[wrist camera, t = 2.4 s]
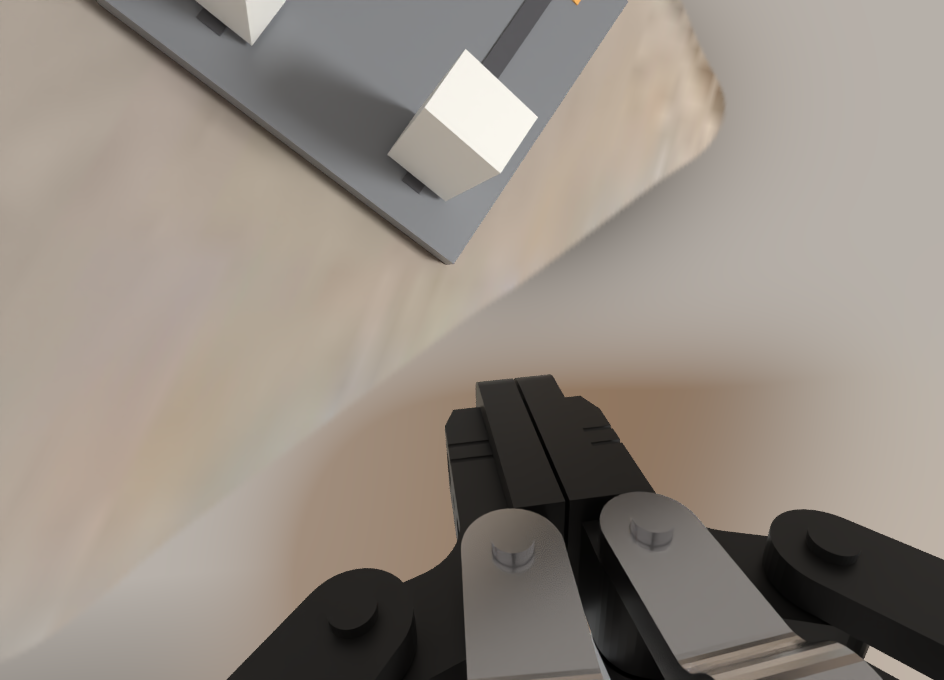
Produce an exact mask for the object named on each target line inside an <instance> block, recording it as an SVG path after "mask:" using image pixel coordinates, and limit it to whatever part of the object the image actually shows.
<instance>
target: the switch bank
mask: <svg viewBox="0 0 944 680" xmlns="http://www.w3.org/2000/svg"><path fill="white" fill-rule="evenodd" d="M96 1H97V2H98V4H100V5H101V6H102V7H104V8H105V9H106V10H108V11H109V12H110V13H112V14H113V15H114V16H116V17H117V18H118V19H120V20H121V21H122V22H124V23H125V24H126V25H128V26H129V27H130V28H132V29H133V30H134V31H136V32H137V33H138V34H140V35H141V36H142V37H144V38H145V39H146V40H148V41H149V42H150V43H152V44H153V45H154V46H156V47H157V48H158V49H160V50H161V51H162V52H164V53H165V54H166V55H168V56H169V57H170V58H172V59H173V60H174V61H176V62H177V63H178V64H179V65H181V66H182V67H183V68H185V69H186V70H187V71H189V72H190V73H191V74H193V75H194V76H195V77H197V78H198V79H199V80H201V81H202V82H203V83H205V84H206V85H207V86H209V87H210V88H211V89H213V90H214V91H215V92H217V93H218V94H219V95H221V96H222V97H223V98H225V99H226V100H227V101H229V102H230V103H231V104H233V105H234V106H235V107H237V108H238V109H239V110H241V111H242V112H243V113H245V114H246V115H247V116H249V117H250V118H251V119H253V120H254V121H255V122H257V123H258V124H259V125H261V126H262V127H263V128H265V129H266V130H267V131H269V132H270V133H271V134H273V135H274V136H275V137H277V138H278V139H279V140H281V141H282V142H283V143H285V144H286V145H287V146H289V147H290V148H291V149H293V150H294V151H295V152H297V153H298V154H299V155H301V156H302V157H303V158H305V159H306V160H307V161H309V162H310V163H311V164H313V165H314V166H315V167H317V168H318V169H319V170H321V171H322V172H323V173H325V174H326V175H327V176H329V177H330V178H331V179H333V180H334V181H335V182H337V183H338V184H339V185H341V186H342V187H343V188H345V189H346V190H347V191H349V192H350V193H351V194H353V195H354V196H355V197H357V198H358V199H359V200H361V201H362V202H363V203H365V204H366V205H367V206H369V207H370V208H371V209H373V210H374V211H375V212H377V213H378V214H379V215H381V216H382V217H383V218H385V219H386V220H387V221H389V222H390V223H391V224H393V225H394V226H395V227H397V228H398V229H399V230H401V231H402V232H403V233H405V234H406V235H407V236H409V237H410V238H411V239H413V240H414V241H415V242H417V243H418V244H419V245H421V246H422V247H423V248H425V249H426V250H427V251H429V252H430V253H431V254H433V255H434V256H435V257H437V258H438V259H439V260H441V261H442V262H443V263H445V264H446V265H448V264H454V263H455V261H456V260H457V258H458V257H459V255H460V254H461V252H462V251H463V249H464V248H465V246H466V245H467V243H468V242H469V240H470V239H471V237H472V236H473V234H474V233H475V231H476V230H477V228H478V227H479V225H480V224H481V222H482V221H483V219H484V218H485V216H486V215H487V213H488V212H489V210H490V209H491V207H492V206H493V204H494V203H495V201H496V200H497V198H498V197H499V195H500V194H501V192H502V191H503V189H504V188H505V186H506V185H507V183H508V182H509V180H510V179H511V177H512V176H513V174H514V173H515V171H516V170H517V168H518V166H519V165H520V163H521V162H522V160H523V159H524V157H525V156H526V154H527V153H528V151H529V150H530V148H531V147H532V145H533V144H534V142H535V141H536V139H537V138H538V136H539V135H540V133H541V132H542V130H543V129H544V127H545V126H546V124H547V123H548V121H549V120H550V118H551V117H552V115H553V114H554V112H555V111H556V109H557V108H558V106H559V105H560V103H561V102H562V100H563V99H564V97H565V96H566V94H567V93H568V91H569V90H570V88H571V87H572V85H573V84H574V82H575V81H576V79H577V78H578V76H579V75H580V73H581V72H582V70H583V69H584V67H585V66H586V64H587V63H588V61H589V60H590V58H591V57H592V55H593V54H594V52H595V51H596V49H597V48H598V46H599V45H600V43H601V42H602V40H603V39H604V37H605V36H606V34H607V33H608V31H609V30H610V28H611V27H612V25H613V24H614V22H615V21H616V19H617V18H618V16H619V15H620V13H621V12H622V10H623V9H624V7H625V6H626V4H627V3H628V1H627V0H286V1H285V3H284V4H283V5H282V7H281V8H280V9H279V11H278V12H277V13H276V15H275V16H274V17H273V19H272V20H271V21H270V23H269V24H268V25H267V27H266V28H265V29H264V31H263V32H262V33H261V34H260V36H259V37H258V38H257V40H256V41H255V42H254V44H253V45H252V46H251V45H250V44H249V43H247V42H246V41H245V40H244V39H243V38H241V37H240V36H239V35H238V34H236V33H235V32H234V31H233V30H231V29H230V28H229V27H228V26H226V25H225V24H224V23H223V22H221V21H220V20H219V19H218V18H216V17H215V16H214V15H213V14H211V13H210V12H209V11H208V10H206V9H205V8H204V7H203V6H201V5H200V4H199V3H198V2H196V1H195V0H96ZM465 49H466V50H467V51H468V52H470V53H471V54H472V55H473V56H474V57H475V58H476V59H477V60H478V61H479V62H480V63H481V64H482V65H483V66H484V67H485V68H486V69H488V70H489V71H490V72H491V73H492V74H493V75H494V76H495V77H496V78H497V79H498V80H499V81H500V82H501V83H502V84H503V85H504V86H506V87H507V88H508V89H509V90H510V91H511V92H512V93H513V94H514V95H515V96H516V97H517V98H518V99H519V100H520V101H521V102H522V103H524V104H525V105H526V106H527V107H528V108H529V109H530V110H531V111H532V112H533V113H534V114H535V115H536V116H537V117H538V118H537V119H536V121H535V122H534V124H533V125H532V127H531V128H530V130H529V131H528V133H527V134H526V136H525V137H524V139H523V140H522V142H521V143H520V145H519V146H518V148H517V149H516V151H515V152H514V154H513V155H512V157H511V158H510V160H509V161H508V163H507V164H506V166H505V167H504V169H503V170H502V172H501V173H500V174H498V175H496V176H494V177H492V178H490V179H488V180H486V181H484V182H482V183H480V184H478V185H477V186H475V187H473V188H471V189H469V190H467V191H465V192H463V193H461V194H459V195H457V196H455V197H453V198H451V199H449V200H447V201H444V200H443V199H442V198H441V197H439V196H438V195H437V194H436V193H434V192H433V191H432V190H431V189H429V188H428V187H427V186H426V185H424V184H423V183H422V182H421V181H419V180H418V179H417V178H416V177H414V176H413V175H412V174H411V173H409V172H408V171H407V170H406V169H404V168H403V167H402V166H401V165H400V164H398V163H397V162H396V161H395V160H393V159H392V158H391V157H390V156H388V155H387V154H388V153H389V151H390V150H391V148H392V147H393V145H394V144H395V143H396V141H397V140H398V138H399V137H400V135H401V134H402V133H403V131H404V130H405V128H406V127H407V125H408V124H409V123H410V121H411V120H412V118H413V117H414V115H415V114H416V113H417V111H418V110H419V108H420V107H421V106H422V105H423V103H424V102H425V101H426V99H427V98H428V97H429V96H430V94H431V93H432V92H433V90H434V89H435V88H436V87H437V85H438V84H439V83H440V81H441V80H442V79H443V77H444V76H445V75H446V74H447V72H448V71H449V70H450V68H451V67H452V66H453V65H454V63H455V62H456V61H457V59H458V58H459V57H460V56H461V54H462V53H463V52H464V50H465Z"/></svg>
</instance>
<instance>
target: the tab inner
mask: <svg viewBox="0 0 944 680" xmlns="http://www.w3.org/2000/svg"><path fill="white" fill-rule="evenodd" d="M195 1H196V2H198V3H199V4H200V5H201V6H203V7H204V8H205V9H206V10H208V11H209V12H210V13H211V14H213V15H214V16H215V17H216V18H218V19H219V20H220V21H221V22H223V23H224V24H225V25H226V26H228V27H229V28H230V29H231V30H233V31H234V32H235V33H236V34H238V35H239V36H240V37H241V38H243V39H244V40H245V41H246V42H247V43H249V44H250V45H251V46H252V45H253V44H254V42H255V41H256V40H257V38H258V37H259V36H260V34H261V33H262V32H263V31H264V29H265V28H266V27H267V25H268V24H269V23H270V21H271V20H272V19H273V17H274V16H275V15H276V13H277V12H278V11H279V9H280V8H281V7H282V5H283V4H284V3H285V1H286V0H195Z"/></svg>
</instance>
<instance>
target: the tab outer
mask: <svg viewBox="0 0 944 680" xmlns="http://www.w3.org/2000/svg"><path fill="white" fill-rule="evenodd" d="M537 118H538V117H537V116H536V115H535V114H534V113H533V112H532V111H531V110H530V109H529V108H528V107H527V106H526V105H525V104H524V103H522V102H521V101H520V100H519V99H518V98H517V97H516V96H515V95H514V94H513V93H512V92H511V91H510V90H509V89H508V88H507V87H506V86H504V85H503V84H502V83H501V82H500V81H499V80H498V79H497V78H496V77H495V76H494V75H493V74H492V73H491V72H490V71H489V70H488V69H486V68H485V67H484V66H483V65H482V64H481V63H480V62H479V61H478V60H477V59H476V58H475V57H474V56H473V55H472V54H471V53H470V52H468V51H467V50H466V49H465V50H464V52H463V53H462V54H461V56H460V57H459V58H458V59H457V61H456V62H455V63H454V65H453V66H452V67H451V68H450V70H449V71H448V72H447V74H446V75H445V76H444V77H443V79H442V80H441V81H440V83H439V84H438V85H437V87H436V88H435V89H434V90H433V92H432V93H431V94H430V96H429V97H428V98H427V99H426V101H425V102H424V103H423V105H422V106H421V107H420V108H419V110H418V111H417V113H416V114H415V115H414V117H413V118H412V120H411V121H410V123H409V124H408V125H407V127H406V128H405V130H404V131H403V133H402V134H401V135H400V137H399V138H398V140H397V141H396V143H395V144H394V145H393V147H392V148H391V150H390V151H389V153H388V154H387V155H388V156H390V157H391V158H392V159H393V160H395V161H396V162H397V163H398V164H400V165H401V166H402V167H403V168H404V169H406V170H407V171H408V172H409V173H411V174H412V175H413V176H414V177H416V178H417V179H418V180H419V181H421V182H422V183H423V184H424V185H426V186H427V187H428V188H429V189H431V190H432V191H433V192H434V193H436V194H437V195H438V196H439V197H441V198H442V199H443V200H444V201H447V200H449V199H451V198H453V197H455V196H457V195H459V194H461V193H463V192H465V191H467V190H469V189H471V188H473V187H475V186H477V185H478V184H480V183H482V182H484V181H486V180H488V179H490V178H492V177H494V176H496V175H498V174H500V173H501V172H502V170H503V169H504V167H505V166H506V164H507V163H508V161H509V160H510V158H511V157H512V155H513V154H514V152H515V151H516V149H517V148H518V146H519V145H520V143H521V142H522V140H523V139H524V137H525V136H526V134H527V133H528V131H529V130H530V128H531V127H532V125H533V124H534V122H535V121H536V119H537Z"/></svg>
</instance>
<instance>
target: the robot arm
mask: <svg viewBox="0 0 944 680" xmlns="http://www.w3.org/2000/svg"><path fill="white" fill-rule="evenodd" d="M445 434H446V447H447V459H448V472H449V484H450V492H451V501H452V508H453V514H454V522H455V528H456V536H457V543H456V545H455V547H454V548H453V550H452V551H451V553H450V554H449V555H448V556H447V558H446V559H444V560H443V561H442V562H441V563H440V564H439V565H437V566H436V567H434V568H433V569H431V570H429V571H428V572H426V573H424V574H422V575H419V576H417V577H415V578H413V579H410V580H408V581H406V582H404V583H403V582H402V581H401V580H400V579H399V578H397V577H396V576H394V575H393V574H391V573H388V572H386V571H383V570H379V569H371V568H363V569H355V570H350V571H346V572H344V573H341V574H338V575H336V576H334V577H332V578H330V579H328V580H327V581H325V582H324V583H323V584H321V585H320V586H319V587H317V588H316V589H315V590H314V591H313V592H312V593H311V594H310V595H309V596H308V597H307V598H306V599H305V600H304V601H303V602H302V603H301V604H300V605H299V606H298V607H297V608H296V609H295V610H294V611H293V612H292V613H291V614H290V615H289V616H288V617H287V618H286V619H285V620H284V621H283V623H282V624H281V625H280V626H279V627H278V628H277V629H276V630H275V631H274V632H273V633H272V634H271V635H270V636H269V637H268V638H267V639H266V640H265V641H264V642H263V643H262V644H261V645H260V646H259V647H258V648H257V649H256V650H255V651H254V652H253V653H252V654H251V655H250V656H249V658H247V659H246V660H245V661H244V662H243V663H242V665H240V666H239V667H238V668H237V670H236V671H235V672H234V673H233V674H232V675H231V676H230V677H229V678H228V679H227V680H899V679H897V678H895V677H893V676H891V675H890V674H888V673H886V672H884V671H882V670H880V669H879V668H877V667H875V666H873V665H871V664H870V663H868V662H866V661H864V658H865V655H866V653H867V650H868V648H869V646H872V647H874V648H876V649H877V650H879V651H881V652H883V653H885V654H887V655H888V656H890V657H892V658H894V659H896V660H898V661H900V662H902V663H903V664H906V665H907V666H909V667H911V668H913V669H915V670H917V671H918V672H920V673H922V674H924V675H926V676H928V677H930V678H931V679H933V680H944V560H943V559H940V558H938V557H936V556H933V555H931V554H928V553H926V552H923V551H921V550H919V549H916V548H914V547H912V546H909V545H907V544H904V543H902V542H899V541H897V540H895V539H892V538H890V537H887V536H885V535H883V534H880V533H878V532H875V531H873V530H871V529H868V528H866V527H863V526H861V525H858V524H856V523H854V522H851V521H849V520H846V519H844V518H841V517H838V516H836V515H833V514H829V513H825V512H821V511H816V510H806V509H802V510H792V511H787V512H784V513H782V514H780V515H779V516H777V517H776V518H775V519H774V520H773V522H772V524H771V526H770V530H769V534H768V536H761V535H752V534H745V533H736V532H728V531H721V530H714V529H710V528H707V527H705V526H704V525H703V524H702V522H701V521H700V520H699V519H698V518H697V517H696V515H694V514H693V512H692V511H691V510H689V509H688V508H687V507H685V506H684V505H682V504H681V503H679V502H678V501H675V500H673V499H671V498H669V497H666V496H663V495H660V494H656V493H655V491H654V490H653V488H652V487H651V485H650V484H649V482H648V481H647V479H646V478H645V476H644V475H643V473H642V472H641V470H640V469H639V467H638V466H637V464H636V463H635V461H634V460H633V458H632V457H631V455H630V454H629V452H628V451H627V449H626V448H625V446H624V445H623V443H620V439H619V437H618V436H617V434H616V433H615V431H614V430H613V429H611V425H610V424H609V422H608V421H607V419H606V418H605V416H604V415H603V413H602V411H601V410H600V409H599V408H598V407H596V406H595V405H593V404H592V403H590V402H589V401H587V400H586V399H584V398H583V397H581V396H574V397H564V395H563V393H562V392H561V390H560V388H559V387H558V385H557V383H556V381H555V379H554V378H553V376H552V375H550V374H549V375H540V376H530V377H521V378H515V379H514V380H513V379H503V380H493V381H484V382H477V383H476V408H467V409H458V410H453V412H452V414H451V416H450V417H449V419H448V421H447V423H446V425H445ZM584 613H585V614H584ZM585 616H586V617H585ZM586 619H587V621H586ZM587 622H588V624H589V627H590V630H591V635H590V631H589V628H588V624H587Z"/></svg>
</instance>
